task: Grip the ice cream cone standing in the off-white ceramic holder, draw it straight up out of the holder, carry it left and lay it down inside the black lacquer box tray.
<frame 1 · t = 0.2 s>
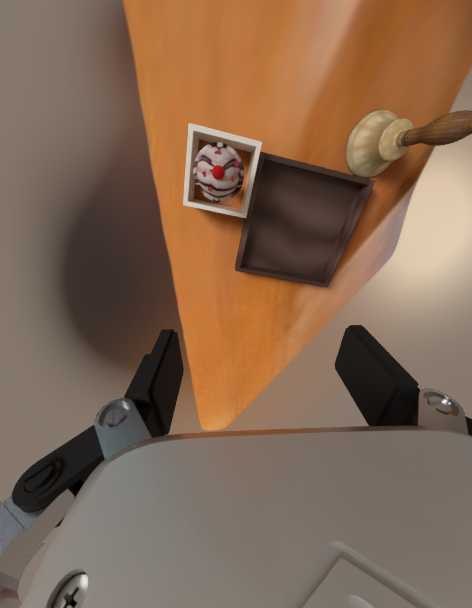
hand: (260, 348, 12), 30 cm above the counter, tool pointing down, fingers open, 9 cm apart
ice cream cone: (221, 176, 34), resting in holder
holder: (221, 176, 33), on the counter
hand bell: (371, 146, 32), on the counter
tray: (294, 226, 38), on the counter
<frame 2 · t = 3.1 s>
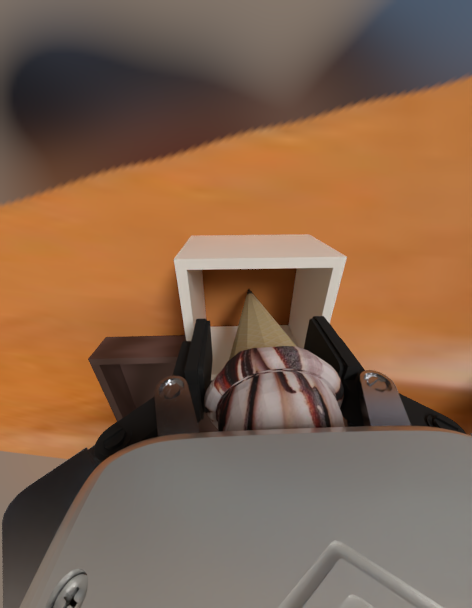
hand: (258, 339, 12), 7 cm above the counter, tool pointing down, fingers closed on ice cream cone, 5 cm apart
ice cream cone: (248, 287, 19), resting in holder, touching gripper
holder: (249, 288, 19), on the counter
tray: (204, 394, 25), on the counter
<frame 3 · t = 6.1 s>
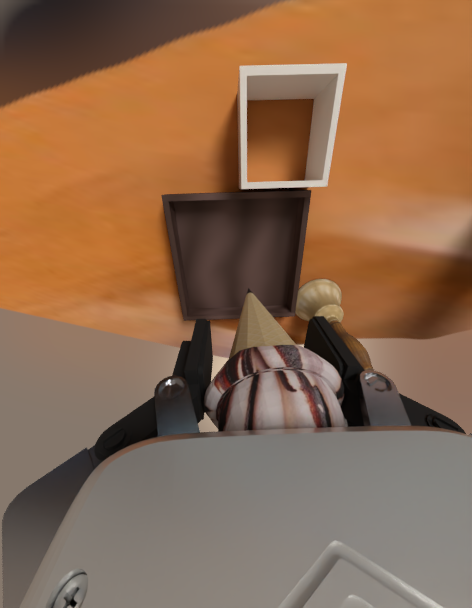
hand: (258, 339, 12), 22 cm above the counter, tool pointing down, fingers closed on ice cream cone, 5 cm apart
ice cream cone: (248, 287, 19), point 14 cm above the counter, touching gripper
holder: (276, 144, 25), on the counter
hand bell: (316, 300, 36), on the counter
tray: (237, 258, 32), on the counter
when the fingers open (8 cm above the counter, at t = 9.1 s): ice cream cone moves 1 cm, resting on tray.
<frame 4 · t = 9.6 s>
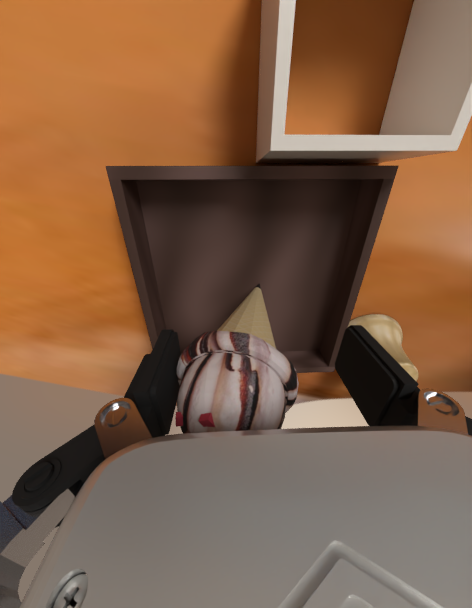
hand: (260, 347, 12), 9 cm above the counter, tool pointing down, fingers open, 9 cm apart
ice cream cone: (259, 282, 20), resting on tray, touching gripper
holder: (332, 74, 13), on the counter
hand bell: (361, 342, 24), on the counter
tray: (247, 282, 20), on the counter
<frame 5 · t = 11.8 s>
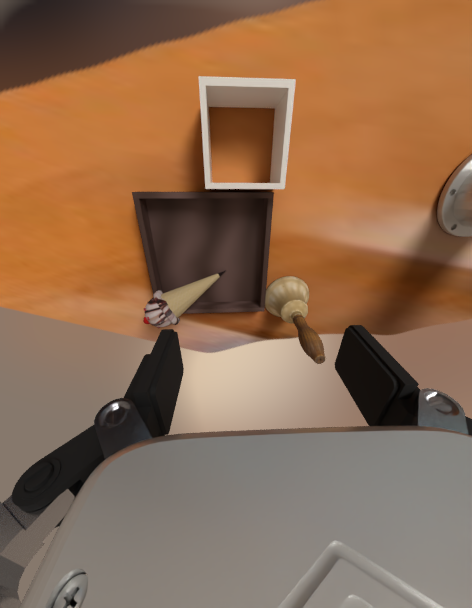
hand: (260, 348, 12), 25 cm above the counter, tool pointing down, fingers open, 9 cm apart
ice cream cone: (227, 270, 34), point 1 cm above the counter, touching tray
holder: (241, 148, 27), on the counter
hand bell: (285, 296, 39), on the counter
tray: (209, 255, 34), on the counter
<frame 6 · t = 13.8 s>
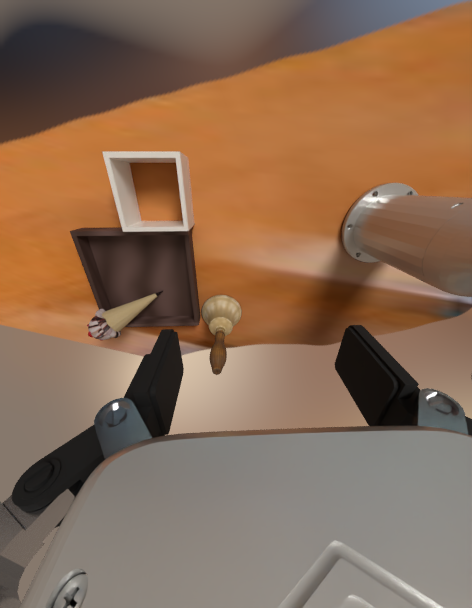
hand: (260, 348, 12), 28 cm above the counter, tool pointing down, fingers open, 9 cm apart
ice cream cone: (164, 290, 40), point 1 cm above the counter, touching tray
holder: (161, 193, 33), on the counter
hand bell: (221, 311, 44), on the counter
tray: (148, 277, 39), on the counter
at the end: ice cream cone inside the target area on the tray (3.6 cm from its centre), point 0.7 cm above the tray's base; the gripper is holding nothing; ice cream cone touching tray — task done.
